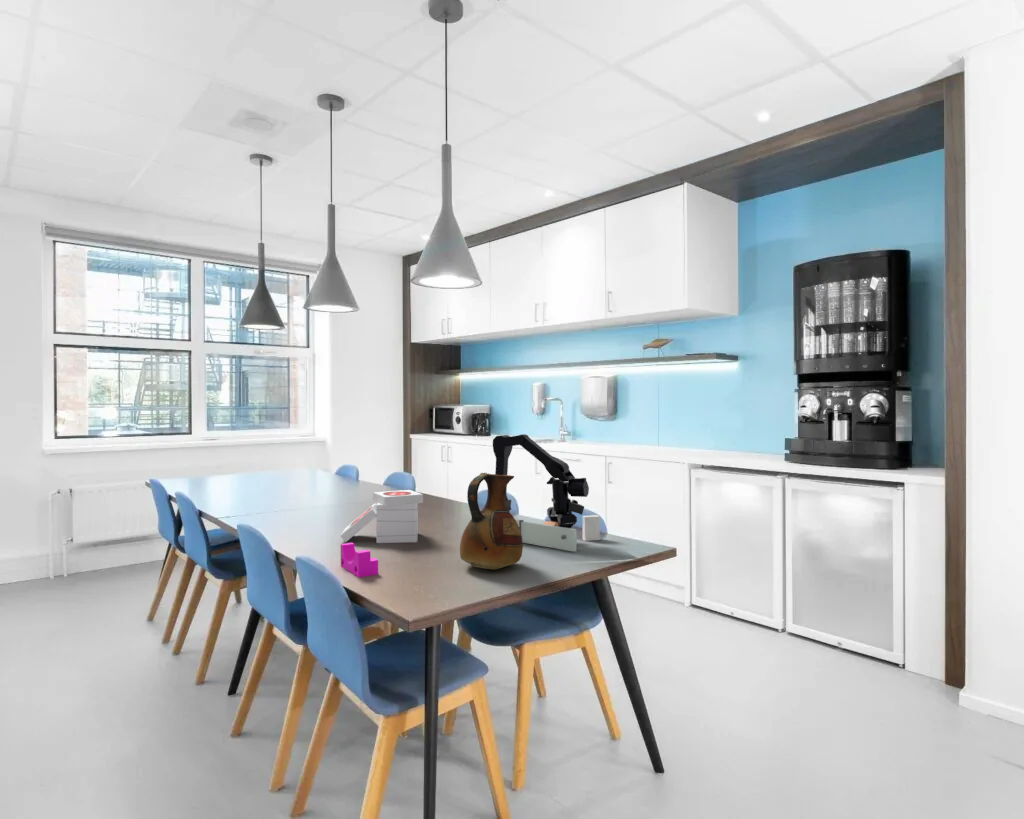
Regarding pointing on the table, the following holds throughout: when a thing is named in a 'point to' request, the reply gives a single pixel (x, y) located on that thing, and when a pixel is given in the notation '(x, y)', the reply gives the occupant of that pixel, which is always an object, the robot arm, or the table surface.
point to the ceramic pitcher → (491, 527)
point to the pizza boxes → (390, 517)
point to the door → (548, 535)
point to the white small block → (588, 527)
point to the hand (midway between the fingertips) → (562, 537)
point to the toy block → (358, 561)
